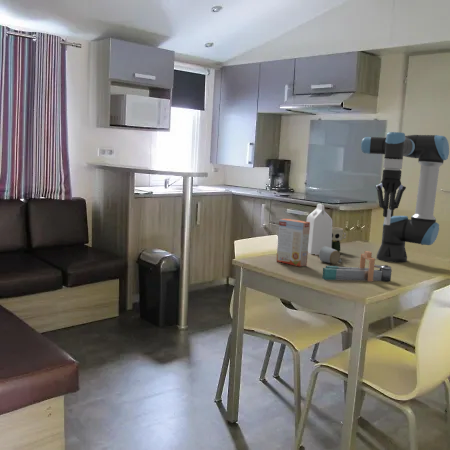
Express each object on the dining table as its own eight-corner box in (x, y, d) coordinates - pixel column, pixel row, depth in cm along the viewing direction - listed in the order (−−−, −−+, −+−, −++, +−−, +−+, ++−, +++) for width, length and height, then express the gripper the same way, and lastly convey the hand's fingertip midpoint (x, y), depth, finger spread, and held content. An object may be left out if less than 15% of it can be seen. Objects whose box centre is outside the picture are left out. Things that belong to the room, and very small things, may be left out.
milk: (331, 254, 274) (335, 206, 271) (310, 254, 272) (314, 205, 268) (322, 250, 286) (326, 203, 282) (302, 249, 284) (306, 202, 280)
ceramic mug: (329, 265, 247) (331, 249, 246) (317, 261, 254) (319, 246, 253) (345, 264, 253) (347, 248, 252) (333, 260, 260) (334, 245, 259)
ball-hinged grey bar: (387, 278, 227) (388, 267, 226) (392, 281, 222) (393, 270, 221) (321, 277, 222) (322, 265, 222) (325, 280, 218) (326, 268, 217)
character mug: (322, 251, 283) (324, 227, 281) (326, 249, 289) (328, 226, 287) (342, 254, 278) (344, 230, 276) (346, 252, 284) (348, 228, 282)
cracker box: (307, 265, 244) (311, 221, 241) (299, 267, 240) (303, 222, 237) (283, 260, 253) (286, 217, 250) (275, 261, 249) (279, 218, 246)
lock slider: (363, 275, 229) (365, 249, 228) (372, 281, 219) (375, 254, 218) (358, 275, 229) (361, 249, 227) (368, 281, 219) (370, 254, 217)
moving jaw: (385, 277, 229) (386, 263, 228) (391, 281, 222) (393, 266, 221) (325, 275, 226) (326, 260, 225) (329, 278, 220) (330, 264, 219)
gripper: (402, 169, 223) (397, 223, 227) (374, 168, 221) (368, 222, 225) (411, 170, 216) (405, 226, 219) (381, 169, 214) (376, 225, 217)
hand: (386, 224), depth 222 cm, fingers closed
